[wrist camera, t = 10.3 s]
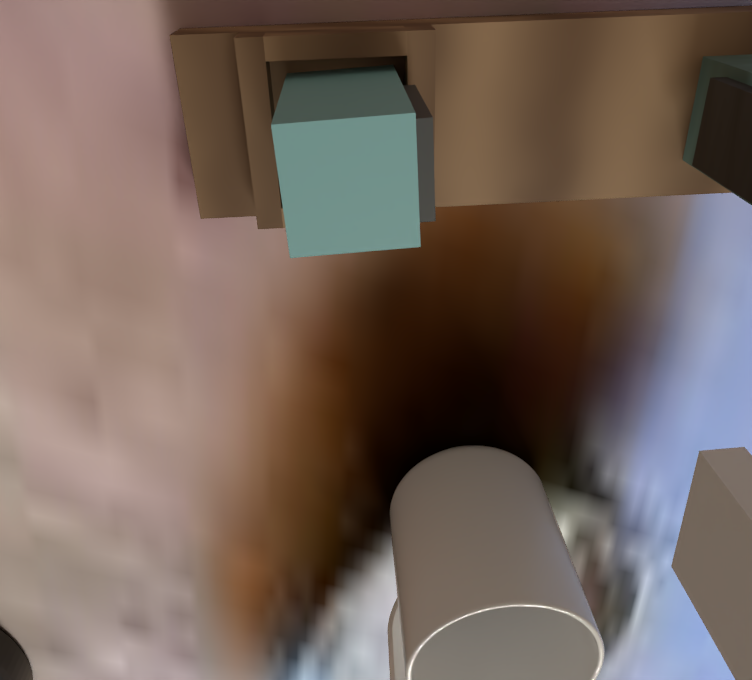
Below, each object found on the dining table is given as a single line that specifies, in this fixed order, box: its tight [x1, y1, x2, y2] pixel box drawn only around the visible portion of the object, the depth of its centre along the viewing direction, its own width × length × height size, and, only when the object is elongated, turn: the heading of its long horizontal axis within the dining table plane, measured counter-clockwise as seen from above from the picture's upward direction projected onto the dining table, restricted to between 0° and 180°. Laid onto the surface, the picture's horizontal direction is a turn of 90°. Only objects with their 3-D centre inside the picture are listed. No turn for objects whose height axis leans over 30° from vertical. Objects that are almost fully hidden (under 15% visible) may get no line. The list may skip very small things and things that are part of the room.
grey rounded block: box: [388, 445, 604, 680], centre depth 36 cm, size 12×9×11 cm
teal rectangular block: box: [271, 65, 435, 258], centre depth 23 cm, size 5×4×8 cm
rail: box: [170, 6, 752, 229], centre depth 25 cm, size 28×7×10 cm, turn 92°
